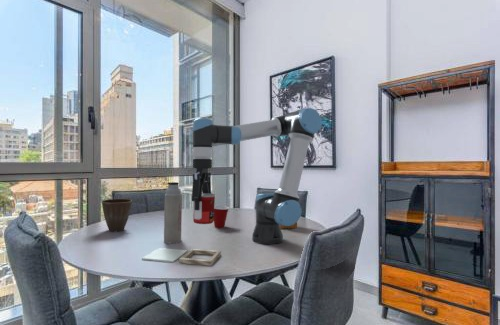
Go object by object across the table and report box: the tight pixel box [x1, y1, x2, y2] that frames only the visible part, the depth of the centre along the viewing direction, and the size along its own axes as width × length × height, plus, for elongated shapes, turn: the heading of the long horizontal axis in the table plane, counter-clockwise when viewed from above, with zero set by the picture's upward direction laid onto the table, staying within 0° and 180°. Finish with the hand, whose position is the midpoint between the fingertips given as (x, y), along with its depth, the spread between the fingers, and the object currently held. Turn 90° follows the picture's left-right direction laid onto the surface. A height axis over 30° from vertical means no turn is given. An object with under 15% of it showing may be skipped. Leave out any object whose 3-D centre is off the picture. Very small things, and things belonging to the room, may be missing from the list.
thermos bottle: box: [163, 181, 183, 244], centre depth 135 cm, size 8×8×28 cm
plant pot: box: [101, 198, 133, 232], centre depth 154 cm, size 15×15×16 cm
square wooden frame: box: [178, 248, 222, 267], centre depth 111 cm, size 12×12×2 cm
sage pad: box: [141, 247, 188, 263], centre depth 114 cm, size 13×13×1 cm
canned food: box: [192, 192, 216, 225], centre depth 110 cm, size 8×8×11 cm
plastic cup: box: [213, 204, 230, 229], centre depth 165 cm, size 11×11×12 cm
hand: (201, 216), depth 111 cm, fingers closed on canned food, 8 cm apart
